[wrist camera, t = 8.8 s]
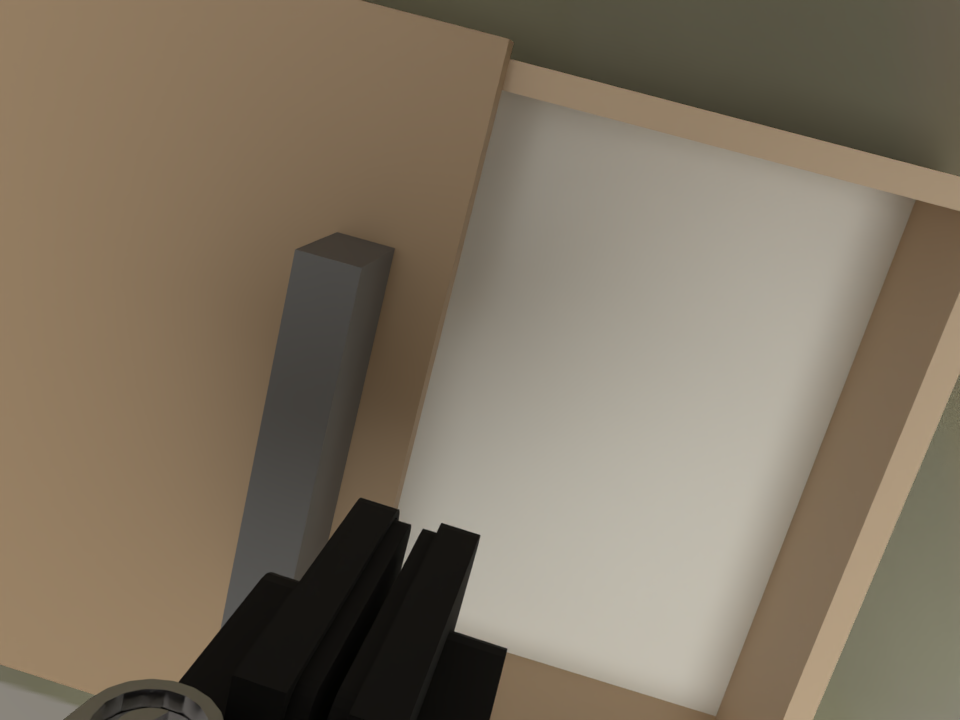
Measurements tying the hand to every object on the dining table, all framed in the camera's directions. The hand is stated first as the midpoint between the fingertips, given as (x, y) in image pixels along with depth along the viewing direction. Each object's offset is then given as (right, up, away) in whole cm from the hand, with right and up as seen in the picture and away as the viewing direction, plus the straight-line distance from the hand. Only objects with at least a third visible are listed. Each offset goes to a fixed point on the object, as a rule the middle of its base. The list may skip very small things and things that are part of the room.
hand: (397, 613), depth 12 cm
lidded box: (+1, +3, +13) cm, 13 cm away
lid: (-10, +5, +8) cm, 14 cm away
